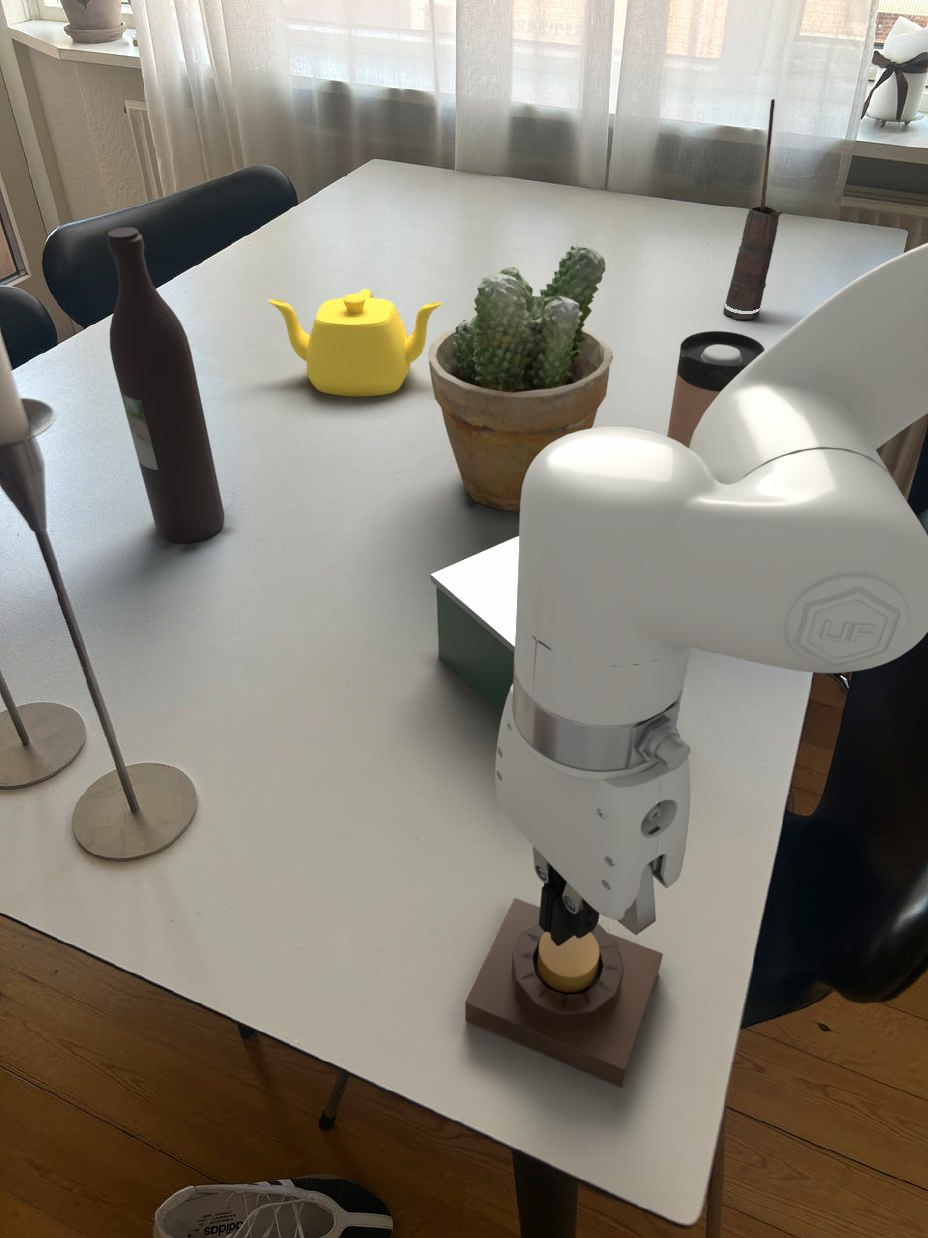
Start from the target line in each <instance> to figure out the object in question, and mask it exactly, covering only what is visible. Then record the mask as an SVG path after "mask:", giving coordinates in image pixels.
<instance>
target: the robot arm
mask: <svg viewBox="0 0 928 1238" xmlns="http://www.w3.org/2000/svg"><path fill="white" fill-rule="evenodd" d="M927 414H928V242H926V243H923V244H921V245H920V246H917V247H915V248H912V249H910V250H907V251H906V252H904V253H901V254H899V255H898V256H896V257H893V258H891V259H889V260H887V261H885V262H883V263H881V264H879V265H878V266H876V267H874V268H872V269H871V270H869V271H867V272H865V273H864V274H862V275H861V276H860V275H859V276H858V277H857V278H855V279H854V280H852V281H851V282H849V283H848V284H846V285H845V286H843V287H842V288H840V289H839V290H837V291H836V292H835V293H833V294H832V295H831V296H828V298H827V299H825V300H824V301H823V302H822V303H820V304H819V305H817V306H816V307H815V308H814V309H813V310H811V311H810V312H809V313H807V315H805V316H804V317H803V318H802V319H800V320H799V321H798V322H797V323H796V324H794V325H793V326H792V327H791V328H789V330H787V331H786V332H785V333H783V334H782V335H781V336H780V337H779V338H777V339H776V340H775V341H774V342H773V343H772V344H771V345H769V346H768V347H767V348H766V349H765V351H764V352H762V353H761V354H760V355H759V356H758V357H757V358H755V359H754V360H753V361H752V362H751V363H750V364H749V365H747V366H746V367H745V368H744V369H743V370H742V371H741V372H740V373H739V374H738V375H737V376H736V377H735V378H734V379H733V380H732V381H731V382H730V383H729V384H728V385H727V386H726V387H725V388H724V389H723V390H722V391H721V392H720V393H719V395H718V396H717V397H716V399H715V400H714V401H713V402H712V404H711V405H710V406H709V407H708V409H707V410H706V411H705V413H704V414H703V416H702V418H701V420H700V422H699V424H698V425H697V427H696V429H695V431H694V433H693V436H692V439H691V443H690V446H689V448H687V447H686V446H684V445H683V444H681V443H680V442H678V441H676V440H674V439H671V438H669V437H667V435H664V434H662V433H658V432H656V431H655V432H654V431H651V430H646V429H643V428H637V427H636V428H635V427H629V426H627V427H626V426H600V427H592V428H590V429H586V430H581V431H577V432H574V433H571V434H568V435H565V436H563V437H561V438H559V439H557V440H555V441H554V442H552V443H551V444H549V445H547V446H546V447H545V448H544V449H543V450H542V451H541V452H540V453H539V454H538V455H537V456H536V457H535V458H534V460H533V462H532V463H531V465H530V466H529V468H528V470H527V472H526V475H525V478H524V481H523V485H522V493H521V502H520V512H519V525H518V526H519V527H518V536H519V550H518V577H517V603H516V626H515V650H514V675H513V684H512V686H511V688H510V691H509V694H508V697H507V700H506V703H505V707H504V710H503V714H502V716H501V718H500V724H499V730H498V736H497V744H496V752H495V768H494V782H495V784H494V785H495V793H496V799H497V802H498V805H499V807H500V809H501V811H502V812H503V814H504V815H505V816H506V818H507V819H508V820H509V821H510V822H511V824H513V827H515V828H516V829H517V830H518V832H519V833H520V834H521V835H522V836H523V837H524V838H525V839H526V840H527V841H528V842H529V843H530V845H532V854H533V867H534V872H535V874H536V876H537V877H538V880H540V881H541V882H543V886H542V887H541V892H540V906H539V907H540V916H539V926H540V927H541V928H542V929H543V931H544V932H548V933H550V935H551V940H552V941H553V942H554V943H555V944H556V945H557V946H560V945H561V944H563V943H564V942H566V941H567V940H569V939H570V938H572V937H573V936H576V937H577V938H578V939H580V938H582V937H584V936H585V935H587V934H588V933H590V932H591V931H592V930H593V929H594V928H595V927H596V925H597V924H599V919H600V915H601V916H603V917H606V918H608V919H611V920H614V921H615V920H616V921H617V922H618V923H620V925H622V926H623V927H624V928H626V929H627V930H628V931H629V932H630V933H632V934H633V935H639V934H640V933H641V932H643V931H645V930H646V929H648V927H650V926H651V925H652V924H654V923H655V922H657V921H656V920H657V916H656V915H657V914H656V903H655V902H656V900H655V888H654V878H655V879H656V880H657V881H658V883H660V884H661V885H662V886H663V887H664V888H665V889H666V890H668V889H669V888H670V887H671V886H672V885H673V884H675V883H676V882H677V881H678V880H679V878H680V876H681V874H682V868H683V865H684V860H685V855H686V854H685V853H686V848H687V840H688V832H689V822H690V811H691V809H690V808H691V777H690V775H691V774H690V763H689V762H690V761H689V756H690V752H691V746H690V745H688V744H687V743H686V742H685V741H683V739H682V738H681V737H680V733H679V730H678V729H677V724H678V723H677V722H678V717H679V712H680V707H681V701H682V697H683V692H684V685H685V680H686V679H685V678H686V674H687V669H688V664H689V659H690V655H691V649H695V650H700V651H705V652H709V653H713V654H719V655H722V656H727V657H731V658H736V659H740V660H744V661H748V662H753V663H757V664H761V665H768V666H771V667H777V668H780V669H785V670H793V671H798V672H805V673H806V672H807V673H817V674H818V673H820V674H841V673H851V672H859V671H864V670H865V671H866V670H870V669H874V668H876V667H879V666H882V665H885V664H888V663H890V662H892V661H895V660H897V659H898V658H900V657H901V656H903V655H905V654H906V653H908V652H909V651H910V650H911V649H913V648H914V647H915V646H916V645H917V644H919V643H920V641H922V640H923V638H924V637H925V636H926V635H927V633H928V533H927V531H926V530H925V528H924V527H923V525H922V524H921V522H920V520H919V518H918V517H917V515H916V514H915V512H914V511H913V509H912V508H911V506H910V504H909V503H908V501H907V500H906V498H905V497H904V495H903V493H902V492H901V490H900V489H899V486H898V484H897V482H896V481H895V479H894V477H893V476H892V474H891V473H890V471H889V470H888V468H887V466H886V464H885V463H884V462H883V460H882V458H881V456H880V455H879V452H878V451H877V450H878V449H879V448H880V447H882V446H883V445H884V444H886V443H888V441H890V440H891V439H893V437H895V436H897V435H898V434H899V433H900V432H902V431H904V430H905V429H906V428H908V427H909V426H911V424H914V423H915V422H917V421H918V420H919V419H921V418H923V417H924V416H926V415H927Z"/></svg>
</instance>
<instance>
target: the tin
mask: <svg viewBox="0 0 928 1238" xmlns="http://www.w3.org/2000/svg"><path fill="white" fill-rule="evenodd" d="M435 587H436V586H435ZM435 589H436V613H437V614H436V615H437V616H436V617H437V619H436V620H437V639H438V640H437V643H438V645H437V647H438V649H437V650H438V657H439V659H441V660H442V661H443V662H444V663H445V664H447V666H448V667H450V669H451V670H452V671H453V672H454V673H455V674H456V675H458V676H459V677H460V678H461V680H463V681H464V682H465V683H466V684H467V685H468V686H469V687H470V688H471V689H472V690H474V692H475V693H476V694H478V695H479V697H481V698H482V699H483V700H484V702H486V703H487V704H488V705H489V706H490V707H492V709H493V710H494V711H495V712H496V713H498V715H500V716H501V717H502V714H503V710H504V707H505V703H506V700H507V697H508V694H509V691H510V688H511V686H512V684H513V675H514V653H512V652H511V651H510V650H509V649H508V648H507V647H505V646H504V645H503V644H502V643H501V642H500V641H499V640H497V639H496V638H495V637H494V636H493V635H492V634H491V633H489V632H488V631H487V630H486V629H485V628H484V627H482V626H481V625H480V624H479V623H478V622H477V621H476V620H474V619H473V618H472V617H471V616H470V615H469V614H467V613H466V612H465V611H464V610H463V609H462V608H461V607H459V606H458V605H457V604H456V603H455V602H454V601H453V600H451V599H450V598H449V597H448V596H447V595H446V594H444V593H443V592H442V591H441V590H440V589H439V588H438V587H436V588H435Z"/></svg>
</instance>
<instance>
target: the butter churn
mask: <svg viewBox="0 0 928 1238" xmlns="http://www.w3.org/2000/svg"><path fill="white" fill-rule="evenodd" d="M775 101H776V100H775V98H772V99H771V100H770V106H769V116H768V117H769V118H768V128H767V129H768V130H767V139H766V140H767V141H766V151H765V162H764V169H763V181H762V190H761V200H760V201H761V202H760V205H757V206H751V207H749V209H748V213H747V216H746V220H745V225H744V228H743V232H742V237H741V242H740V246H739V247H738V253H737V255H736V260H735V263H734V269H733V273H732V276H731V279H730V285H729V288H728V292H727V296H726V300H725V303H726V304H727V306H729V307H731V308H733V309H737V310H741V311H753V310H756V309H759V308H760V310H759V311H758V312H756V313H753V314H739V313H734V312H731V311H729V310H727V309H726V308H725V305H724V307H723V314H725V316H729V317H732V319H735V320H747V321H748V320H754V319H757V318H758V316H759V315H760V311H761V307H760V306H762V301H763V296H764V292H765V288H766V285H767V277H768V272H769V269H770V266H771V265H770V264H771V260H772V255H773V253H774V252H773V251H774V246H775V241H776V238H777V233H778V225H779V219H780V215H782V214H783V213H784V211H782V210H778V209H777V208H774V207H772V206H770V205H766V198H767V197H766V195H767V194H766V193H767V192H766V191H767V189H768V188H767V187H768V176H769V165H770V163H769V162H770V154H771V145H772V137H773V136H772V133H773V132H772V131H773V126H774V125H773V124H774V114H775V106H776V104H775V103H776V102H775Z"/></svg>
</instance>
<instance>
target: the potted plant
mask: <svg viewBox="0 0 928 1238" xmlns="http://www.w3.org/2000/svg"><path fill="white" fill-rule="evenodd" d="M605 272H606V261H605V257H604V256H603V255H602V254H601V253H599V252H598V251H597V250H596V249H594V248H593V247H591V246H590V245H588V244H586V243H584V242H580V243H579V242H578V243H576V245H571V246H570V249H568V250H567V251H566V252H565V255H564V256H562V257H560V261H559V262H558V269H557V270H554V271H553V273H554V278H553V277H552V278H551V283H545V286H546V289H544V288H543V289H541V288H539V293H540V296H537V295H536V296H534V295H533V292H534V289H533V287H531V286H530V282H529V281H526V280H525V278H524V277H523V276H522V275H521V274H520V269H518V268H517V267H515V266H509V267H504V268H502V270H500V271H499V272H497V273H496V274H493V275H487V276H485V277H484V278H482V279H481V283H480V284H479V285H478V287H477V292H478V293H477V294H476V295H475V297H474V299H473V301H474V304H475V307H473V310H474V311H475V312H476V315H475V316H473V317H470V318H468V319H462V322H460V323H459V324H458V325H457V326H455V328H452V329H449V330H447V331H446V332H444V333H443V334H441V335H440V336H438V337H437V338H435V340H434V341H433V342H432V343H431V345H430V346H429V350H428V352H427V358H428V364H429V373H430V379H431V384H432V391H433V395H434V399H435V401H436V402H437V404H438V405H439V407H440V409H441V413H442V419H443V423H444V426H445V431H446V434H447V437H448V441H449V443H450V446H451V447H450V448H451V449H452V453H453V456H454V459H455V463H456V465H457V468H458V471H459V475H460V478H461V481H462V483H463V487H464V488H465V489H464V490H465V491H466V492H467V494H468V495H469V496H470V498H471V499H472V501H473V502H476V503H479V504H481V505H484V506H488V507H490V508H492V509H495V510H498V511H502V512H503V511H504V512H513V513H520V502H521V493H522V485H523V481H524V478H525V475H526V472H527V470H528V468H529V466H530V465H531V463H532V462H533V460H534V458H535V457H536V456H537V455H538V454H539V453H540V452H541V451H542V450H543V449H544V448H545V447H546V446H547V445H549V444H551V443H552V442H554V441H555V440H557V439H559V438H561V437H563V436H565V435H568V434H571V433H574V432H577V431H581V430H586V429H590V428H593V426H594V424H595V420H596V416H597V413H598V409H599V407H601V405H602V403H603V401H604V400H605V398H606V396H607V391H608V385H609V378H610V366H611V364H612V361H613V359H614V355H613V353H614V352H613V350H612V349H611V346H610V345H609V344H608V343H606V342H605V341H604V340H603V339H602V338H601V337H599V336H598V335H597V334H596V333H594V332H593V331H591V330H588V329H586V328H585V321H586V320H587V318H588V317H589V316H590V314H591V313H592V312H593V309H592V308H591V307H589V305H590V304H592V303H593V302H594V300H593V299H594V298H595V296H594V294H596V292H598V291H599V288H598V286H597V285H598V284H600V283H602V281H603V274H604V273H605Z"/></svg>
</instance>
